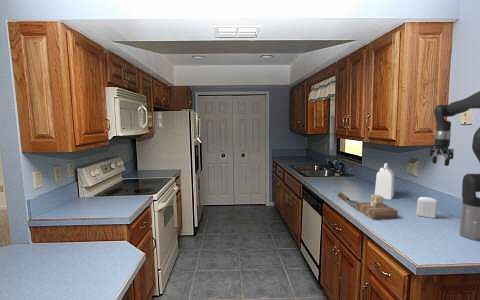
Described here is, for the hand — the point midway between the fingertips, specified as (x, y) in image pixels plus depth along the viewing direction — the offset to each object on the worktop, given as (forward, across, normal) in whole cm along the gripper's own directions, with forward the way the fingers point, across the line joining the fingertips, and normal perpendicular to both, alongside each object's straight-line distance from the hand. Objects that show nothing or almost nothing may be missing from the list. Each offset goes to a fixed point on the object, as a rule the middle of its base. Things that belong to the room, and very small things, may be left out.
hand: (440, 164), depth 170 cm
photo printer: (+33, +1, +6) cm, 34 cm away
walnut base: (+33, +10, +34) cm, 48 cm away
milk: (+33, +45, +3) cm, 56 cm away
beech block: (+28, +10, +34) cm, 45 cm away
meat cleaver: (+34, +34, +35) cm, 60 cm away
